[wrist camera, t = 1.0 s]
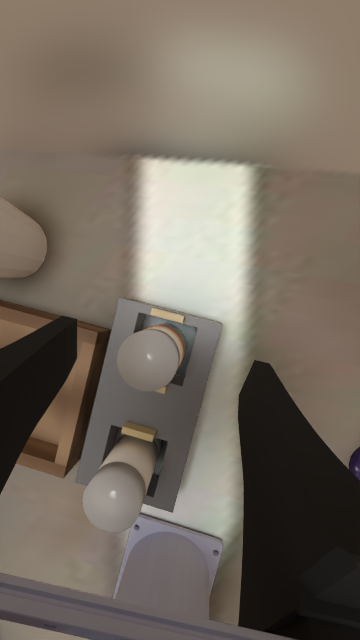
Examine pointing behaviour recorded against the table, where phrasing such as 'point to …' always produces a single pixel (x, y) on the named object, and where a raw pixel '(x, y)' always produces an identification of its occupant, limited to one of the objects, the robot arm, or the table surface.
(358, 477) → the toy lamp
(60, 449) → the tray
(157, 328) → the marked fuse
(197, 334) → the fuse holder
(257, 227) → the table surface
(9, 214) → the white tapered cup
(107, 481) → the plain fuse
